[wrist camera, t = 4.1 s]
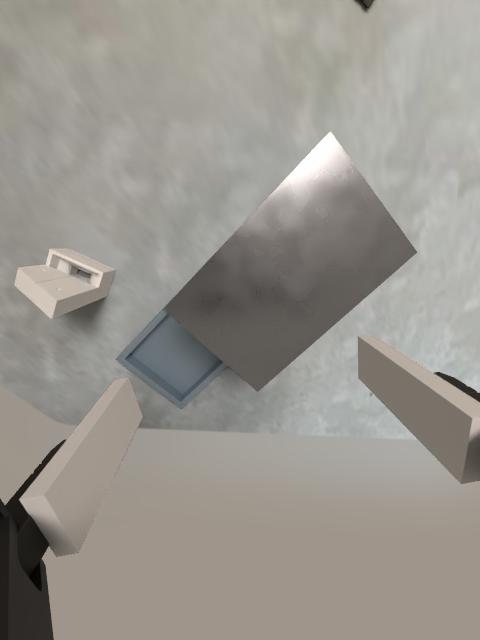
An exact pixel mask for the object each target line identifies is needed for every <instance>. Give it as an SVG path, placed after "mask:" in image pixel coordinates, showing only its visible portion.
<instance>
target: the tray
mask: <svg viewBox="0 0 480 640" xmlns="http://www.w3.org/2000/svg"><path fill="white" fill-rule="evenodd" d="M166 306H167V305H166ZM166 306H165V307H166ZM165 307H164V308H165ZM164 308H163V309H164ZM163 309H162V310H161V311H160V312H159V314H158V315H157V316H156V317H155V318H154V319H153V320H152V321H151V322H150V323H149V324H148V325H147V326H146V327H145V328H144V329H143V331H142V332H141V333H140V334H139V335H138V336H137V337H136V338H135V339H134V340H133V341H132V342H131V343H130V344H129V345H128V346H127V348H126V349H125V350H124V351H123V352H122V353H121V354H120V355H119V356H118V357H117V358H116V360H117V361H118V362H120V363H121V364H122V365H124V366H125V367H126V368H128V369H129V370H130V371H132V372H133V373H134V374H136V375H137V376H138V377H140V378H141V379H142V380H143V381H145V382H146V383H147V384H149V385H150V386H151V387H153V388H154V389H155V390H157V391H158V392H159V393H161V394H162V395H163V396H165V397H166V398H167V399H169V400H170V401H171V402H173V403H174V404H175V405H176V406H178V407H179V408H180V409H182V408H183V407H184V406H185V405H186V404H187V403H188V402H190V401H191V400H192V399H193V398H194V397H195V396H196V395H197V394H198V393H199V392H200V391H201V390H202V389H204V388H205V387H206V386H207V385H208V384H209V383H210V382H211V381H212V380H213V379H214V378H215V377H216V376H218V375H219V374H220V373H221V372H222V371H223V370H224V369H225V368H226V367H227V365H226V364H225V363H224V362H223V361H222V360H220V359H219V358H218V357H217V356H216V355H215V354H214V353H212V352H211V351H210V350H209V349H208V348H207V347H205V346H204V345H203V344H202V343H201V342H200V341H199V340H197V339H196V338H195V337H194V336H193V335H192V334H190V333H189V332H188V331H187V330H186V329H185V328H184V327H182V326H181V325H180V324H179V323H178V322H177V321H175V320H174V319H173V318H172V317H171V316H170V315H169V314H167V313H166V312H165V311H164V310H163Z"/></svg>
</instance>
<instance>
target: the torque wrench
mask: <svg viewBox="0 0 480 640" xmlns="http://www.w3.org/2000/svg"><path fill="white" fill-rule="evenodd" d="M362 1H363V3H364V4H365V5H366V7H367V8H368V7H369V6H370V4H371V3H372V1H373V0H362Z"/></svg>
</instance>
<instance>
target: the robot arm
mask: <svg viewBox="0 0 480 640" xmlns="http://www.w3.org/2000/svg"><path fill="white" fill-rule="evenodd" d="M358 378H359V379H360V380H361V381H362V382H363V383H364V384H365V385H366V386H367V387H368V388H369V389H370V390H371V391H372V392H373V393H374V395H375V396H376V397H377V398H378V399H379V400H380V401H381V402H382V403H383V404H384V405H385V406H386V407H387V408H388V409H389V410H390V411H391V412H392V413H393V414H394V415H395V416H396V417H397V418H398V419H399V420H400V421H401V422H402V423H403V424H404V425H405V426H406V428H407V429H408V430H409V431H410V432H411V433H412V434H413V435H414V436H415V437H416V438H417V439H418V440H419V441H420V442H421V443H422V444H423V445H424V446H425V447H426V448H427V449H428V450H429V451H430V452H431V453H432V454H433V455H434V456H435V457H436V458H437V459H438V461H439V462H440V463H441V464H442V465H444V467H445V468H446V469H447V470H448V471H449V472H450V473H451V474H452V475H453V476H454V477H455V478H456V479H457V480H458V481H459V482H460V483H461V484H463V483H469V482H474V481H480V393H477V391H476V390H474V389H472V388H471V387H469V386H468V387H467V386H466V384H464V383H462V382H460V381H459V380H457V379H455V378H454V377H451V376H448V375H446V374H443V373H440V372H436V373H432V372H431V371H429V370H428V369H426V368H425V367H423V366H421V365H420V364H418V363H417V362H415V361H414V360H412V359H410V358H409V357H407V356H406V355H404V354H403V353H401V352H399V351H398V350H396V349H395V348H393V347H392V346H390V345H388V344H387V343H385V342H384V341H382V340H381V339H379V338H377V337H376V336H374V335H373V334H366V335H361V336H358ZM142 417H143V416H142V413H141V410H140V408H139V405H138V402H137V399H136V397H135V394H134V391H133V388H132V386H131V383H130V380H129V377H126V378H121V379H115V380H114V381H113V383H112V384H111V385H110V386H109V388H108V389H107V390H106V391H105V393H104V394H103V395H102V396H101V398H100V399H99V400H98V401H97V403H96V404H95V405H94V406H93V408H92V409H91V410H90V411H89V413H88V414H87V415H86V417H85V418H84V419H83V420H82V422H81V423H80V424H79V425H78V427H77V428H76V429H75V430H74V432H73V433H72V434H71V435H70V437H69V438H68V439H67V440H63V441H62V442H61V443H60V444H58V445H57V446H56V447H55V448H53V449H52V450H51V451H50V453H49V454H48V455H47V456H46V457H45V458H44V460H43V461H42V464H39V466H38V467H37V468H36V469H35V470H34V473H33V474H31V475H30V476H29V478H28V479H27V480H26V481H25V482H24V484H23V485H22V486H21V487H20V488H19V490H18V491H17V492H16V493H15V494H14V496H13V497H12V498H11V499H10V500H9V502H8V503H7V504H6V505H4V503H3V502H2V501H1V499H0V640H54V639H53V631H52V621H51V613H50V603H49V594H48V585H47V576H46V566H45V564H44V562H43V560H42V559H41V558H42V557H43V555H44V553H45V552H46V550H47V548H48V546H50V548H51V549H52V551H53V552H54V554H55V555H56V557H57V556H63V555H69V554H74V553H79V551H80V549H81V547H82V544H83V542H84V540H85V538H86V536H87V534H88V532H89V530H90V528H91V526H92V523H93V521H94V519H95V517H96V515H97V513H98V511H99V509H100V507H101V504H102V502H103V500H104V498H105V496H106V494H107V492H108V489H109V487H110V485H111V483H112V481H113V479H114V477H115V475H116V473H117V470H118V468H119V466H120V464H121V462H122V460H123V458H124V456H125V453H126V451H127V449H128V447H129V445H130V443H131V441H132V439H133V436H134V434H135V432H136V430H137V428H138V426H139V424H140V422H141V420H142Z"/></svg>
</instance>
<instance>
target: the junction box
mask: <svg viewBox="0 0 480 640" xmlns="http://www.w3.org/2000/svg"><path fill="white" fill-rule="evenodd" d="M416 253H417V251H416V250H415V249H414V247H413V246H412V244H411V243H410V242H409V240H408V239H407V237H406V236H405V235H404V233H403V232H402V231H401V229H400V228H399V226H398V225H397V224H396V222H395V221H394V219H393V218H392V217H391V215H390V214H389V212H388V211H387V210H386V208H385V207H384V205H383V204H382V203H381V201H380V200H379V199H378V197H377V196H376V194H375V193H374V192H373V190H372V189H371V187H370V186H369V185H368V183H367V182H366V180H365V179H364V178H363V176H362V175H361V173H360V172H359V171H358V169H357V168H356V167H355V165H354V164H353V162H352V161H351V160H350V158H349V157H348V155H347V154H346V153H345V151H344V150H343V148H342V147H341V146H340V144H339V143H338V141H337V140H336V139H335V137H334V136H333V135H332V133H331V132H329V133H328V134H327V136H326V137H325V138H324V139H323V140H322V141H321V142H320V143H319V144H318V145H317V146H316V147H315V148H314V149H313V150H312V151H311V153H310V154H309V155H308V156H307V157H306V158H305V159H304V160H303V161H302V162H301V163H300V164H299V165H298V166H297V167H296V168H295V170H294V171H293V172H292V173H291V174H290V175H289V176H288V177H287V178H286V179H285V180H284V181H283V182H282V183H281V184H280V185H279V186H278V187H277V188H276V190H275V191H274V192H273V193H272V194H271V195H270V196H269V197H268V198H267V199H266V200H265V201H264V202H263V203H262V204H261V205H260V207H259V208H258V209H257V210H256V211H255V212H254V213H253V214H252V215H251V216H250V217H249V218H248V219H247V220H246V221H245V222H244V224H243V225H242V226H241V227H240V228H239V229H238V230H237V231H236V232H235V233H234V234H233V235H232V236H231V237H230V238H229V239H228V241H227V242H226V243H225V244H224V245H223V246H222V247H221V248H220V249H219V250H218V251H217V252H216V253H215V254H214V255H213V256H212V258H211V259H210V260H209V261H208V262H207V263H206V264H205V265H204V266H203V267H202V268H201V269H200V270H199V271H198V272H197V273H196V275H195V276H194V277H193V278H192V279H191V280H190V281H189V282H188V283H187V284H186V285H185V286H184V287H183V289H182V290H181V291H180V292H179V293H178V294H177V295H176V296H175V297H174V298H173V299H172V300H171V301H170V302H169V303H168V304H167V306H166V307H165V308H164V309H163V310H164V311H165V312H166V313H167V314H169V315H170V316H171V317H172V318H173V319H174V320H175V321H177V322H178V323H179V324H180V325H181V326H182V327H184V328H185V329H186V330H187V331H188V332H189V333H190V334H192V335H193V336H194V337H195V338H196V339H197V340H199V341H200V342H201V343H202V344H203V345H204V346H205V347H207V348H208V349H209V350H210V351H211V352H212V353H214V354H215V355H216V356H217V357H218V358H219V359H220V360H222V361H223V362H224V363H225V364H226V365H227V366H228V367H230V368H231V369H232V370H233V371H234V372H235V373H237V374H238V375H239V376H240V377H241V378H242V379H243V380H245V381H246V382H247V383H248V384H249V385H250V386H252V387H253V388H254V389H255V390H256V391H257V392H258V391H259V390H260V389H261V388H263V387H264V386H265V385H266V384H267V383H268V382H269V381H271V380H272V379H273V378H274V377H275V376H276V375H277V374H279V373H280V372H281V371H282V370H283V369H284V368H285V367H287V366H288V365H289V364H290V363H291V362H292V361H293V360H295V359H296V358H297V357H298V356H299V355H300V354H301V353H303V352H304V351H305V350H306V349H307V348H308V347H309V346H311V345H312V344H313V343H314V342H315V341H316V340H317V339H319V338H320V337H321V336H322V335H323V334H324V333H326V332H327V331H328V330H329V329H330V328H331V327H332V326H334V325H335V324H336V323H337V322H338V321H339V320H340V319H342V318H343V317H344V316H345V315H346V314H347V313H348V312H350V311H351V310H352V309H353V308H354V307H355V306H356V305H358V304H359V303H360V302H361V301H362V300H363V299H364V298H366V297H367V296H368V295H369V294H370V293H371V292H372V291H374V290H375V289H376V288H377V287H378V286H379V285H380V284H382V283H383V282H384V281H385V280H386V279H387V278H388V277H390V276H391V275H392V274H393V273H394V272H395V271H396V270H398V269H399V268H400V267H401V266H402V265H403V264H404V263H406V262H407V261H408V260H409V259H410V258H411V257H412V256H414V255H415V254H416Z"/></svg>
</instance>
